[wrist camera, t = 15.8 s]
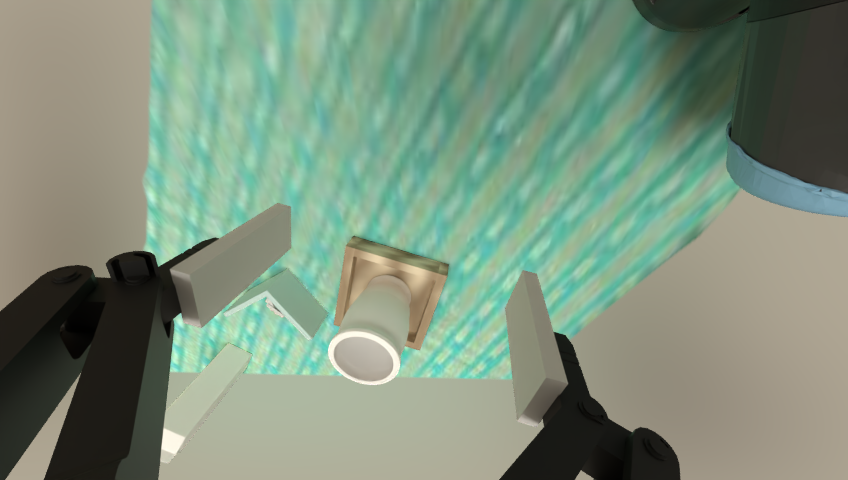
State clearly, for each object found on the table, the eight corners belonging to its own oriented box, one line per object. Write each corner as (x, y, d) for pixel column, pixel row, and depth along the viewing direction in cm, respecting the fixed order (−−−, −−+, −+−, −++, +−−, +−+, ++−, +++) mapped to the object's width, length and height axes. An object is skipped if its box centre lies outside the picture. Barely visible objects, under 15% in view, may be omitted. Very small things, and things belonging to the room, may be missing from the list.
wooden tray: (448, 264, 51) (447, 276, 48) (422, 336, 60) (419, 350, 57) (353, 236, 51) (345, 245, 48) (340, 312, 60) (333, 324, 57)
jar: (414, 319, 57) (397, 391, 44) (361, 310, 58) (329, 378, 45) (419, 273, 52) (402, 339, 39) (361, 264, 53) (324, 325, 40)
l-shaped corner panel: (249, 288, 61) (222, 313, 55) (290, 266, 57) (266, 290, 51) (288, 329, 65) (268, 357, 59) (329, 311, 61) (312, 338, 55)
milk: (228, 342, 69) (134, 441, 50) (253, 354, 70) (169, 456, 51) (223, 356, 72) (132, 456, 53) (247, 368, 73) (166, 470, 54)
